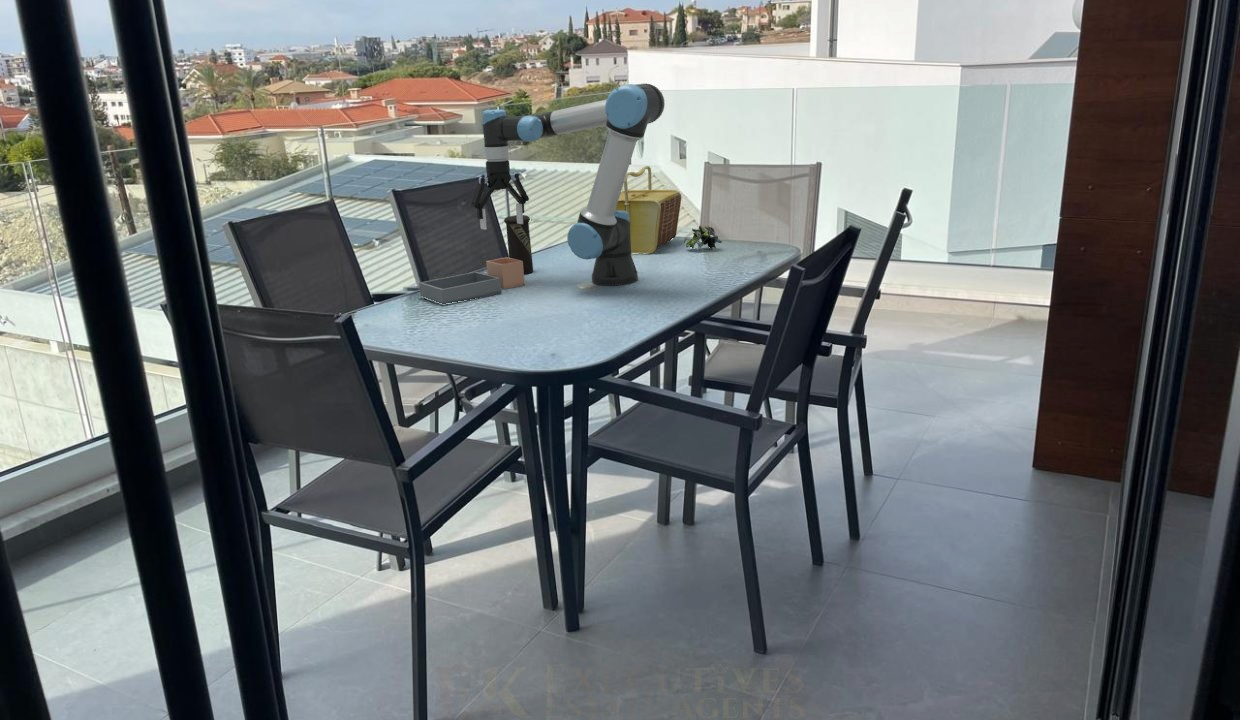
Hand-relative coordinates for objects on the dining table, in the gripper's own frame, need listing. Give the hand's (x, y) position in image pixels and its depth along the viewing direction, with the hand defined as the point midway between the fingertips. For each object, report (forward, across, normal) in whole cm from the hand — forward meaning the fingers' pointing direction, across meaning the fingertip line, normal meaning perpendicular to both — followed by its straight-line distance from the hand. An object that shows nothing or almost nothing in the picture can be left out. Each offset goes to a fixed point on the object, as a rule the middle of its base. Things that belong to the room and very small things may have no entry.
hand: (502, 226), depth 297 cm
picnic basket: (+19, -68, -15) cm, 72 cm away
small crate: (+19, 0, +1) cm, 19 cm away
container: (+20, -13, -12) cm, 27 cm away
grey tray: (+20, +18, +3) cm, 27 cm away
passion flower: (+19, -79, +9) cm, 81 cm away
